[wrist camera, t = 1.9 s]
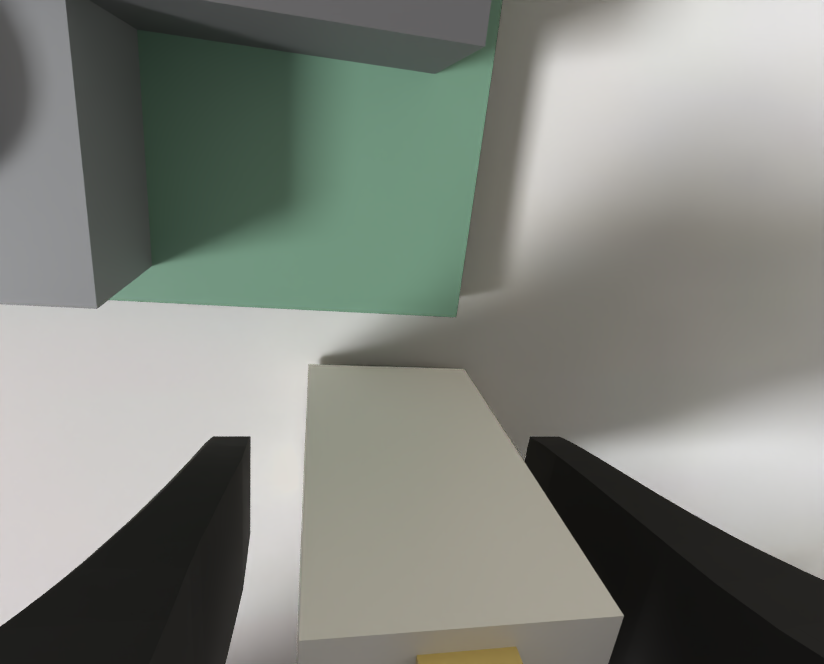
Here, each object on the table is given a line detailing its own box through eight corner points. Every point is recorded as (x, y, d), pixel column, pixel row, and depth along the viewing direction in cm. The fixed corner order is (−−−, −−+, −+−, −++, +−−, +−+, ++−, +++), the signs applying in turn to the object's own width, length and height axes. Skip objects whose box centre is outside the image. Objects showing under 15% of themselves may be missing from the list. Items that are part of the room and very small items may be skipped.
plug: (444, 495, 12) (591, 904, 5) (302, 499, 11) (283, 967, 5) (464, 369, 11) (675, 695, 4) (308, 364, 10) (295, 739, 4)
